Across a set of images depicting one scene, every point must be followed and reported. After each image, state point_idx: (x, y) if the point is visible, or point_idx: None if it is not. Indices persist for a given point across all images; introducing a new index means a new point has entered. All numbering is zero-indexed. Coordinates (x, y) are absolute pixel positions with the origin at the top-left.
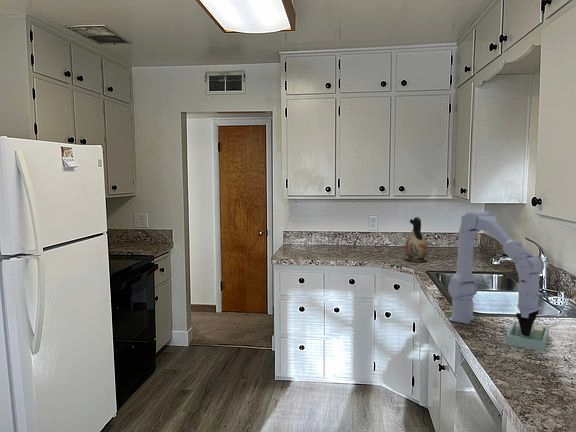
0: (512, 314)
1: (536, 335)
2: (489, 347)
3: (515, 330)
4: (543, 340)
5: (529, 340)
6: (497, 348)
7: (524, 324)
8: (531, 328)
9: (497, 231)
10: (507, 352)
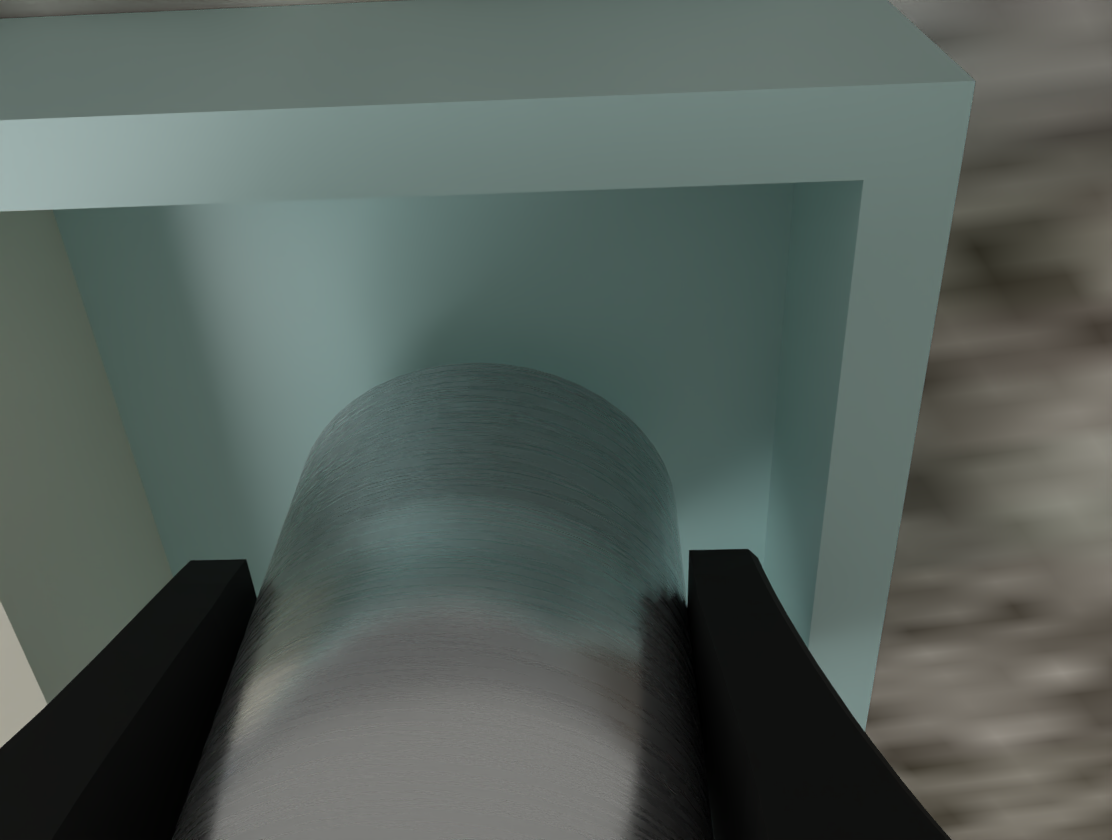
0: None
1: (26, 357)
2: (971, 818)
3: None
4: (770, 140)
5: (900, 472)
6: (957, 737)
7: None
8: (630, 698)
9: None
10: (1092, 603)
